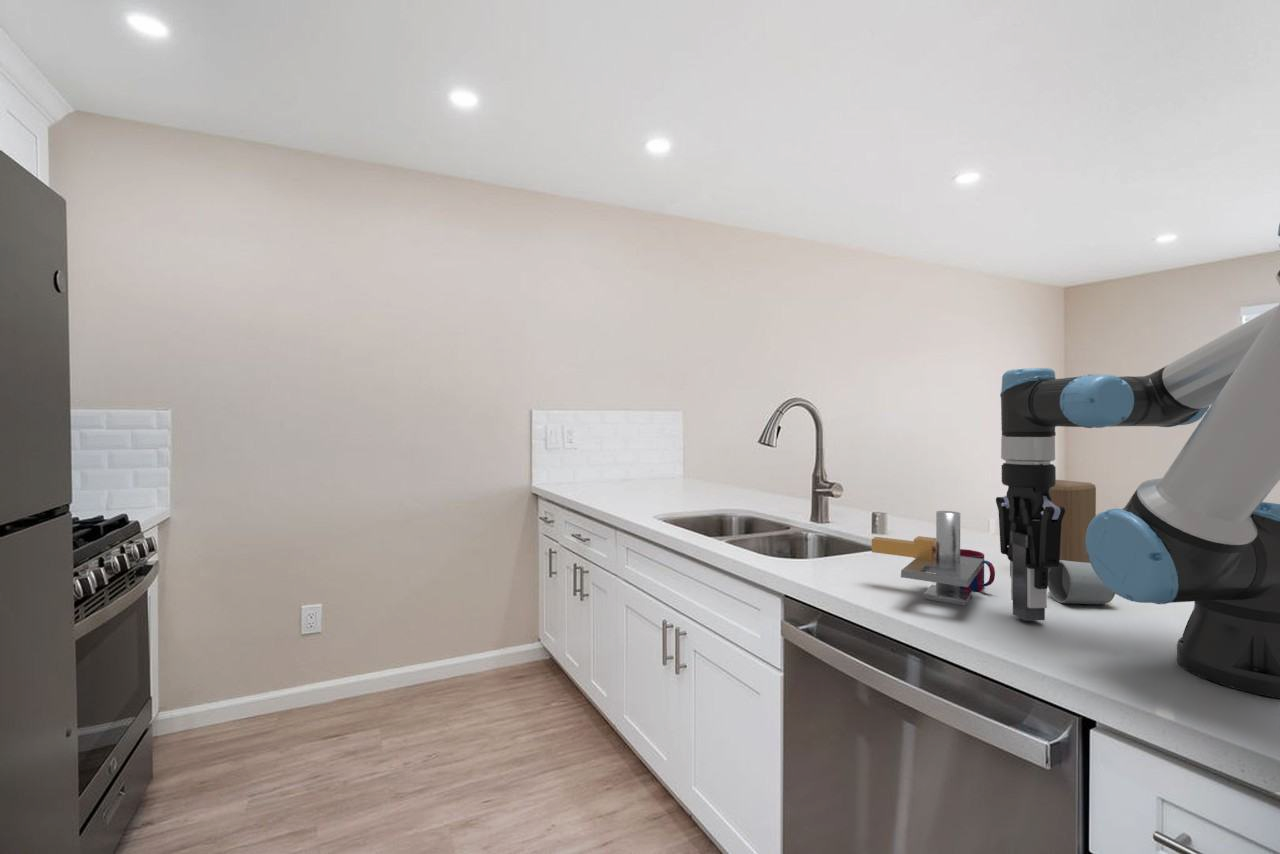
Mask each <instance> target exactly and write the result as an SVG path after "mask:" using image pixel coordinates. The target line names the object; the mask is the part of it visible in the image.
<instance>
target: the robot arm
mask: <svg viewBox="0 0 1280 854" xmlns="http://www.w3.org/2000/svg"><path fill="white" fill-rule="evenodd" d="M1277 236H1278V237H1280V223H1279V224H1278V229H1277ZM1278 245H1279V247H1280V244H1278ZM1275 275H1276V276H1275V279H1276V281H1277V282H1278V285H1279V286H1280V270H1279V271H1278V272H1277V273H1276V274H1275ZM1000 390H1001V391H1000V394H999V396H1000V408H1001V411H1000V415H1001V416H1000V417H1001V419H1000V420H1001V439H1000V440H1001V441H1000V443H1001V444H1000V445H1001V446H1000V447H1001V448H1000V451H1001V452H1000V454H1001V455H1000V458H1001V459H1002V460H1003V461H1005V462H1003V463H1002V464H1001V483H1002V484H1003V486H1007V488H1008V489H1007V491H1006V495H1005V496H997V497H996V498H995V503H996V506H997V511H998V526H999V547H1000V548H999V549H1000V553H1001V554H1002V555H1006V556H1007V559H1008V560H1009V568H1010V569H1009V570H1010V571H1009V572H1010V574H1009V575H1010V583H1011V584H1010V586H1011V587H1010V588H1011V589H1010V593H1011V595H1010V598H1011V599H1010V600H1011V601H1013V549H1012V543H1011V541H1010V531H1027V533H1028V535H1030V548H1029V551H1030V560H1031V565H1027V607H1029V608H1045V609H1047V608H1048V607H1047V605H1048V604H1047V599H1048V598H1047V596H1048V595H1047V589H1048V569H1049V568H1051V567H1058V566H1059V559H1060V541H1061V523H1062V519H1063V516H1064V514H1065V508H1064V507H1062V506H1058V507H1057V506H1056V505H1054V504H1053V503H1052V502H1051V496H1050V493H1049V489H1050V488H1051V487H1054V486H1055V484H1056V480H1057V479H1056V478H1057V476H1056V475H1057V474H1056V473H1057V472H1056V469H1057V468H1056V467H1057V466H1055V465H1054V464H1053V463H1051V462H1054V461H1055V460H1056V427H1064V428H1065V427H1066V428H1067V427H1068V428H1086V429H1093V428H1095V429H1097V428H1098V429H1099V428H1100V429H1101V428H1106V427H1108V428H1110V427H1111V428H1113V427H1161V428H1171V427H1176V426H1177V427H1178V426H1187V425H1190V424H1194V423H1196V422H1198V421H1200V422H1199V424H1197V426H1196V428H1195V429H1194V431H1193V432H1192V434H1191V435H1190V437H1189V438H1188V439H1187V441H1186V443H1184V445H1183V447H1182V448H1181V449H1180V452H1178V454H1177V455H1176V458H1174V461H1172V463H1171V465H1170V466H1169V468H1168V470H1166V472H1165V474H1164V475H1163V477H1161V478H1155V479H1152V478H1151V479H1148V480H1147V479H1146V480H1145V481H1143V482H1141V483H1140V484H1139V486H1138V487H1137V488H1136V490H1135V491H1134V492H1133V494H1132V496H1131V497H1130V498H1129V501H1128V502H1127V503H1126V505H1125V506H1124V507H1123V508H1112V509H1107V510H1104V511H1102V512H1099V513H1097V514H1096V516H1095V517H1094V518H1093V519H1092V520H1091V522H1090V523H1089V526H1088V528H1087V532H1086V540H1085V541H1086V551H1087V553H1088V555H1089V561H1090V563H1091V565H1092V568H1093V569H1094V571H1095V573H1096V574H1097V576H1098V577H1099V579H1100V580H1101V581H1102V582H1103V583H1104V584H1105V585H1106V586H1107V587H1108V588H1109V589H1110V590H1111V591H1113V592H1114V593H1115V595H1117V596H1119V597H1121V598H1122V599H1125V600H1127V601H1130V602H1134V603H1143V604H1156V605H1165V604H1171V603H1186V602H1187V603H1188V602H1190V603H1191V602H1194V607H1193V609H1192V612H1191V614H1190V616H1189V618H1188V620H1187V622H1186V625H1185V627H1184V630H1183V634H1182V637H1180V638H1179V639H1178V641H1177V643H1176V661H1177V663H1178V664H1179V665H1180V666H1181V667H1182V668H1184V669H1185V670H1187V671H1189V672H1190V673H1191V674H1194V675H1197V676H1199V677H1201V678H1204V679H1206V680H1208V681H1211V682H1214V683H1217V684H1220V685H1223V686H1226V687H1230V688H1232V689H1236V690H1239V691H1244V692H1247V693H1251V694H1257V695H1261V696H1266V697H1270V698H1276V699H1280V503H1275V502H1274V503H1272V502H1268V501H1267V502H1265V501H1264V500H1265V499H1266V497H1268V495H1269V494H1270V493H1271V491H1273V489H1274V488H1275V486H1276V485H1277V484H1278V483H1279V482H1280V303H1279V304H1278V305H1276V306H1274V307H1272V308H1271V309H1269V310H1266V311H1265V312H1263V313H1260V314H1259V315H1257V316H1255V317H1253V318H1252V319H1250V320H1248V321H1246V322H1244V323H1243V324H1240V325H1239V326H1236V327H1234V328H1233V329H1231V330H1229V331H1228V332H1226V333H1224V334H1222V335H1221V336H1219V337H1217V338H1215V339H1213V340H1212V341H1209V342H1208V343H1206V344H1204V345H1202V346H1201V347H1198V348H1197V349H1195V350H1193V351H1191V352H1189V353H1187V354H1185V355H1183V356H1182V357H1180V358H1178V359H1176V360H1175V361H1172V362H1171V363H1169V364H1167V365H1166V366H1163V367H1162V368H1159V369H1158V370H1155V371H1154V372H1152V373H1150V374H1148V375H1141V376H1139V375H1138V376H1117V375H1112V374H1085V375H1082V376H1081V375H1080V376H1072V377H1064V378H1056V372H1055V370H1054V369H1052V368H1049V367H1044V368H1043V367H1031V368H1030V367H1029V368H1017V369H1010V370H1006V371H1005V372H1004V373H1003V374H1002V376H1001V388H1000ZM1033 520H1039V521H1033Z"/></svg>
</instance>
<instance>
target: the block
mask: <svg viewBox="0 0 1280 854" xmlns="http://www.w3.org/2000/svg"><path fill="white" fill-rule="evenodd" d="M1049 493H1050V496H1051V502H1052V503H1053V504H1054V505H1056V506H1057V507H1058V506H1062V507H1064V508H1065V514H1064V516H1063V519H1062V523H1061V541H1060V559H1059V560H1064V561H1073V562H1084V563H1090V561H1089V555H1088V553H1087V551H1086V541H1085V540H1086V532H1087V528H1088V526H1089V523H1090V522H1091V520H1092V519H1093V518H1094V517H1095V516H1096V515H1097V514H1096V512H1097V510H1096V509H1097V507H1096V506H1097V502H1096V501H1097V487H1096V485H1095V484H1094V483H1092V482H1085V481H1074V480H1064V479H1056V484H1055V486H1054V487H1051V488H1050V489H1049ZM1033 521H1039V520H1033Z"/></svg>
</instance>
